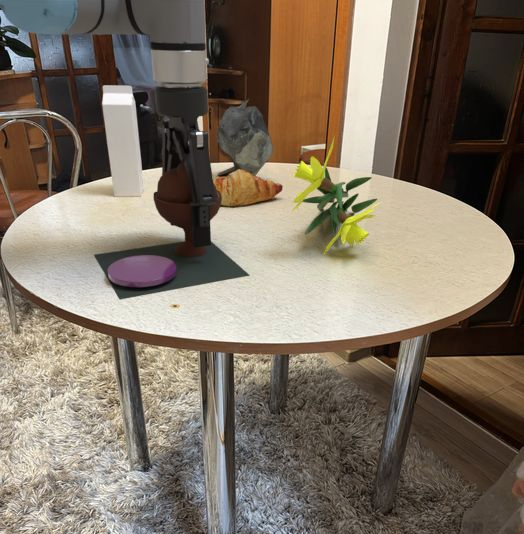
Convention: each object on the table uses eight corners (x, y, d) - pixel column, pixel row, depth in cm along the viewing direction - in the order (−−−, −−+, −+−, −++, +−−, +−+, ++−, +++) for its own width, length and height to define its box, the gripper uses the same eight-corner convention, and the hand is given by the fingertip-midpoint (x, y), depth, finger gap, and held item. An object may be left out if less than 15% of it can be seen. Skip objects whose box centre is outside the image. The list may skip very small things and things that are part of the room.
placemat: (94, 257, 84) (93, 254, 84) (207, 240, 92) (207, 237, 92) (120, 303, 71) (119, 299, 70) (250, 278, 78) (250, 275, 78)
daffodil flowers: (391, 220, 107) (401, 228, 74) (327, 252, 111) (310, 273, 78) (356, 144, 104) (351, 118, 71) (293, 180, 108) (260, 171, 75)
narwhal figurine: (213, 188, 122) (210, 105, 112) (217, 173, 135) (215, 97, 125) (273, 189, 122) (275, 107, 112) (271, 174, 135) (273, 98, 125)
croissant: (192, 223, 110) (192, 194, 104) (183, 190, 115) (183, 161, 108) (285, 214, 115) (291, 187, 109) (273, 183, 120) (278, 155, 113)
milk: (141, 197, 115) (130, 87, 103) (113, 196, 114) (99, 86, 102) (144, 189, 120) (133, 84, 108) (117, 189, 119) (104, 83, 108)
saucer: (102, 270, 79) (101, 260, 78) (165, 260, 83) (164, 251, 82) (117, 296, 71) (116, 286, 70) (186, 284, 75) (185, 274, 74)
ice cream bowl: (218, 238, 91) (216, 150, 83) (225, 262, 82) (224, 165, 74) (158, 240, 90) (150, 151, 82) (158, 265, 81) (149, 167, 73)
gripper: (238, 92, 65) (239, 254, 77) (179, 77, 83) (187, 212, 95) (182, 94, 62) (192, 262, 74) (133, 78, 80) (148, 217, 92)
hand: (189, 234), depth 84 cm, fingers closed on ice cream bowl, 11 cm apart
